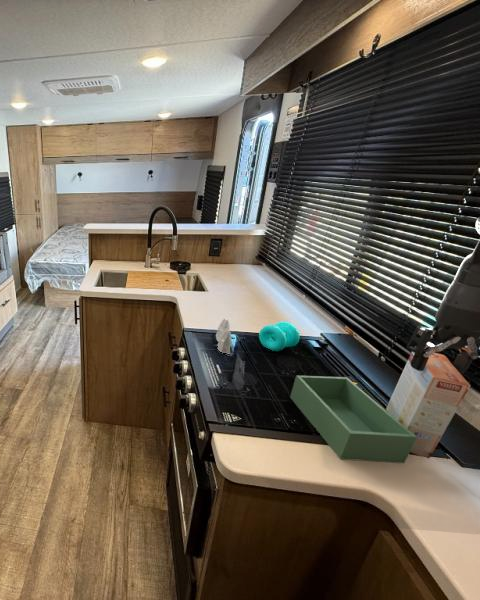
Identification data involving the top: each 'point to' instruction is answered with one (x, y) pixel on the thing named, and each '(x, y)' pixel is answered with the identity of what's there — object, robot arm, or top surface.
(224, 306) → the top surface
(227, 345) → the grey jagged slab
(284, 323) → the donuts
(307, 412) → the tote
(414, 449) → the cracker box
